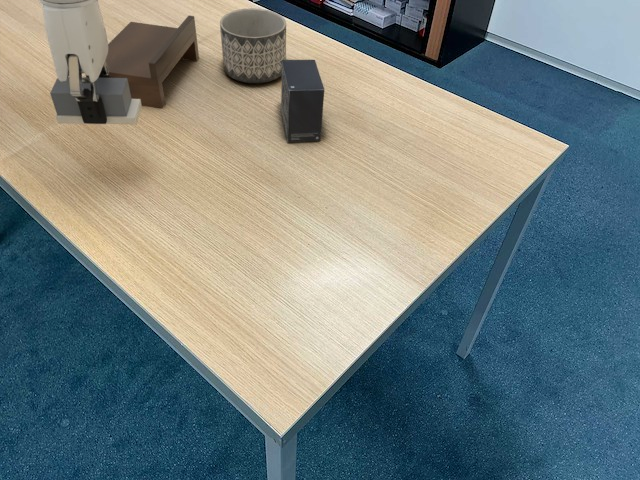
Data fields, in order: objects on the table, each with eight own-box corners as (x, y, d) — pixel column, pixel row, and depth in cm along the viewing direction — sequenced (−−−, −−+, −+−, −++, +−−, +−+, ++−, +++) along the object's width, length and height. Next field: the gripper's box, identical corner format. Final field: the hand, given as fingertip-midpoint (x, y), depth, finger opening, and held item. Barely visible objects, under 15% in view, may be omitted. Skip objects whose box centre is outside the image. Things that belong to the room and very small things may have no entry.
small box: (323, 142, 96) (326, 89, 89) (286, 144, 95) (287, 90, 88) (313, 109, 104) (316, 57, 96) (279, 110, 103) (279, 58, 95)
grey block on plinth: (57, 123, 78) (47, 94, 74) (66, 104, 81) (57, 75, 78) (136, 124, 79) (130, 95, 75) (141, 105, 82) (136, 77, 79)
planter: (211, 74, 110) (206, 24, 103) (250, 51, 118) (248, 2, 111) (260, 95, 106) (258, 44, 99) (297, 69, 114) (299, 20, 106)
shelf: (91, 97, 102) (79, 52, 96) (136, 49, 116) (127, 6, 110) (162, 108, 101) (154, 63, 95) (199, 58, 115) (194, 15, 108)
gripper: (52, -44, 72) (86, 80, 85) (12, 13, 60) (58, 146, 73) (111, -41, 73) (135, 81, 86) (83, 15, 61) (115, 146, 74)
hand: (99, 110), depth 79 cm, fingers closed on grey block on plinth, 5 cm apart
